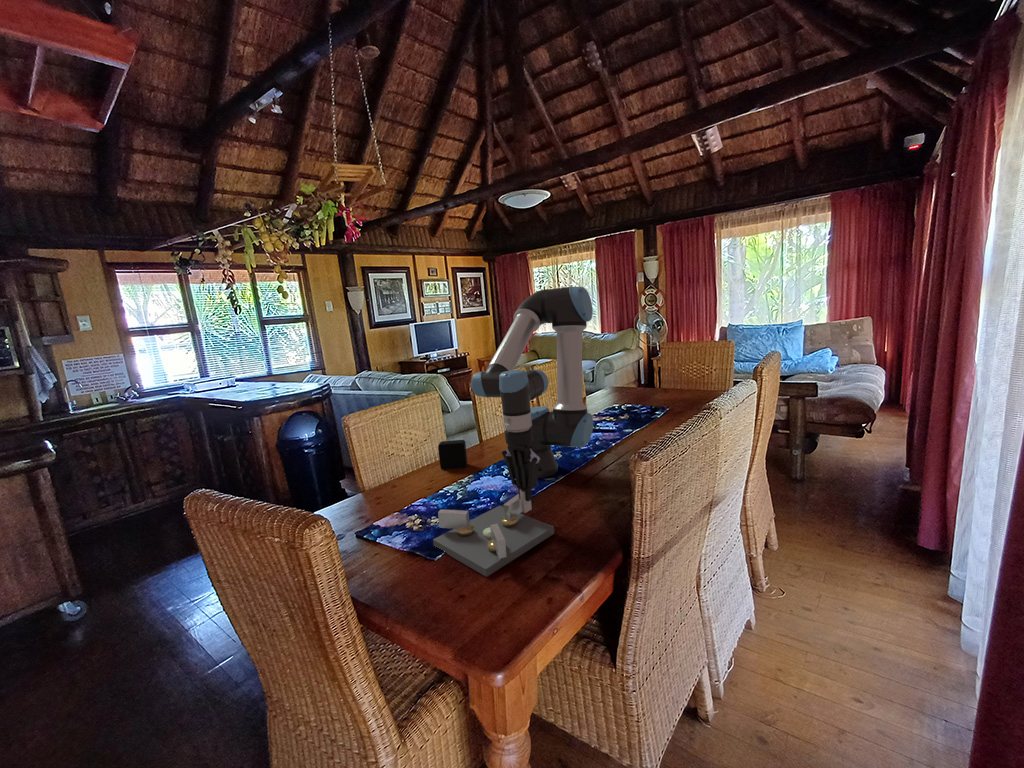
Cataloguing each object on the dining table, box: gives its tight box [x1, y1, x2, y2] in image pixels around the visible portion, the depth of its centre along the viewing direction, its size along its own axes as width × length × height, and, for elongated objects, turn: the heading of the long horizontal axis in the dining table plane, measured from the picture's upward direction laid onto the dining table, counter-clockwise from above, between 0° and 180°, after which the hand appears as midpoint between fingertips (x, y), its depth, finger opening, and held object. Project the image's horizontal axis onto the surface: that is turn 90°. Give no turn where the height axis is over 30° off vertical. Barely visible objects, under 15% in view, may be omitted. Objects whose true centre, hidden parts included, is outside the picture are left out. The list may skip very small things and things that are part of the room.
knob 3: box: [502, 493, 523, 527], centre depth 122 cm, size 9×4×6 cm, turn 146°
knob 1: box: [437, 509, 474, 536], centre depth 118 cm, size 9×4×6 cm, turn 74°
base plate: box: [432, 505, 555, 578], centre depth 117 cm, size 24×21×3 cm
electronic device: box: [437, 439, 468, 470], centre depth 173 cm, size 4×10×10 cm, turn 89°
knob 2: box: [487, 524, 507, 559], centre depth 107 cm, size 9×4×6 cm, turn 14°
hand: (526, 510), depth 123 cm, fingers closed
